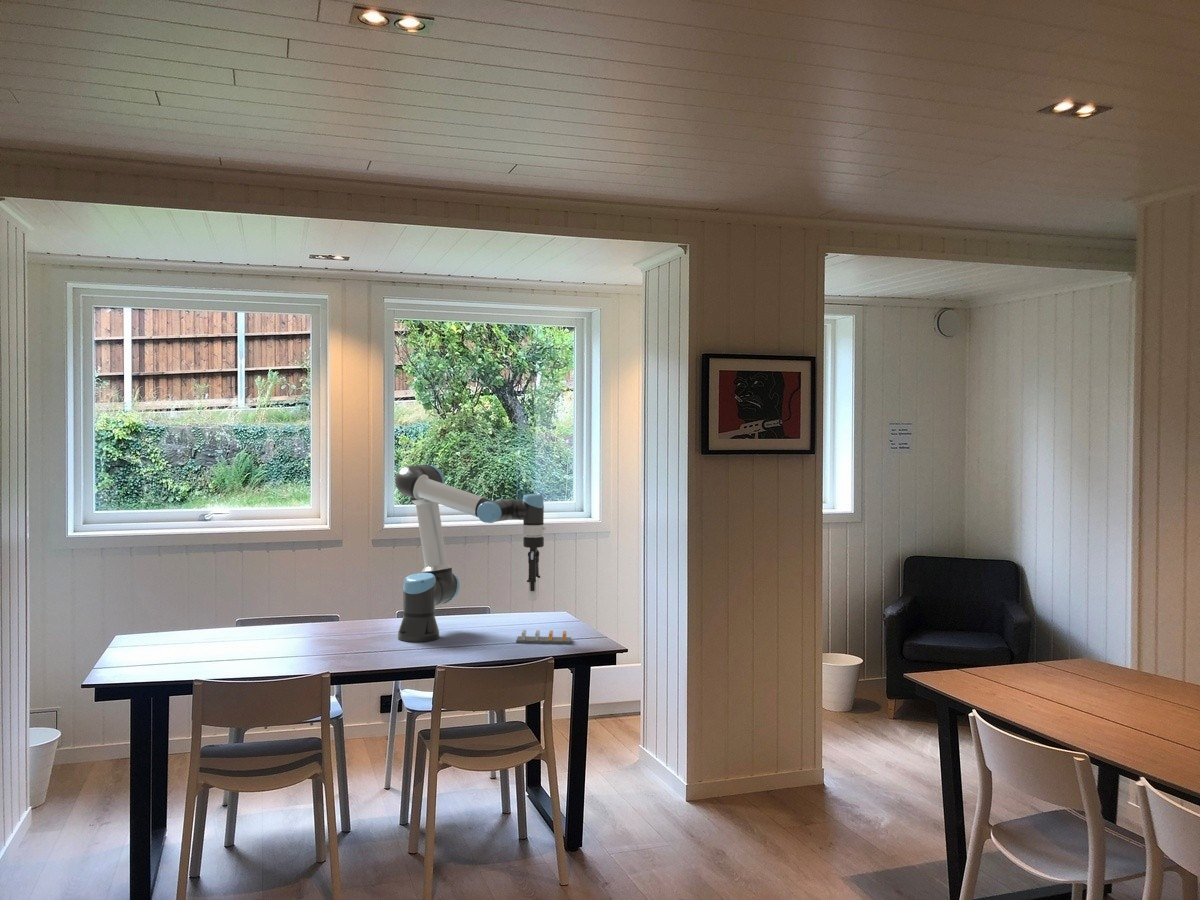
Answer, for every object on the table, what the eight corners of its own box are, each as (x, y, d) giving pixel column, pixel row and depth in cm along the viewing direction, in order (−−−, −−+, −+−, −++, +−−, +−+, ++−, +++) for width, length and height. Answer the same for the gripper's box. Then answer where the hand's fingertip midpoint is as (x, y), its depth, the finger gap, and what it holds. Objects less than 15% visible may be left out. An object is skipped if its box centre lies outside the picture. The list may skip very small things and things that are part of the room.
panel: (528, 600, 343) (528, 579, 343) (531, 596, 351) (530, 576, 351) (535, 600, 343) (535, 579, 343) (537, 596, 351) (537, 576, 351)
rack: (516, 643, 345) (516, 633, 345) (518, 638, 352) (518, 629, 352) (570, 644, 344) (571, 634, 344) (571, 640, 351) (571, 630, 351)
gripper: (541, 539, 337) (541, 602, 337) (545, 533, 358) (546, 593, 358) (520, 539, 337) (520, 602, 337) (526, 533, 358) (526, 593, 358)
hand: (533, 597), depth 347 cm, fingers closed on panel, 8 cm apart
